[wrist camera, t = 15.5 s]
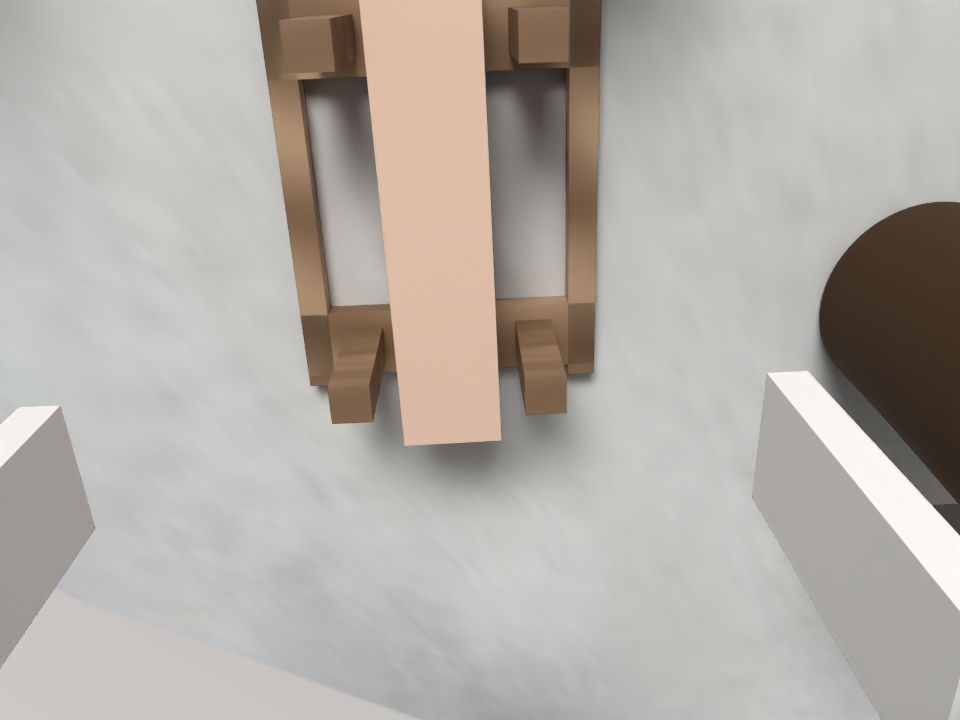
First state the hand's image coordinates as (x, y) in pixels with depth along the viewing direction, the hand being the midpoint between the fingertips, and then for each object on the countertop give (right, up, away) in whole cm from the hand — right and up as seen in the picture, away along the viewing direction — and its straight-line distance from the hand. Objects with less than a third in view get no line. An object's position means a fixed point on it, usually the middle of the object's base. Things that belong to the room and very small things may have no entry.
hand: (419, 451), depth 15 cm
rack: (-1, +9, +20) cm, 22 cm away
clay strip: (-1, +9, +19) cm, 21 cm away
